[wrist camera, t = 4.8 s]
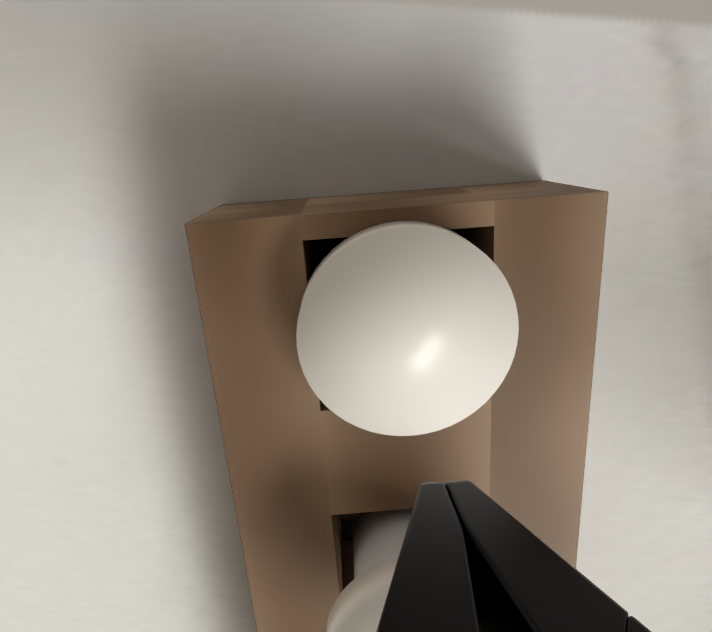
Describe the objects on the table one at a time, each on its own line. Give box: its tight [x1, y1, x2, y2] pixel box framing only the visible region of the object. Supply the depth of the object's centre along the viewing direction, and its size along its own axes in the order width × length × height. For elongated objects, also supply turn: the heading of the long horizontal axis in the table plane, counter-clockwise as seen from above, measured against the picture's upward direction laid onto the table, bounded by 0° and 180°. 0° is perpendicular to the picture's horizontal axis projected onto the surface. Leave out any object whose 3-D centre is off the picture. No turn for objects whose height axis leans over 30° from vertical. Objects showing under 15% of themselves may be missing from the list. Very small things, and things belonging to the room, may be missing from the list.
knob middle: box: [326, 509, 413, 632], centre depth 15 cm, size 5×5×4 cm
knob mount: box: [185, 181, 608, 632], centre depth 17 cm, size 10×22×4 cm, turn 4°
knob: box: [296, 221, 519, 436], centre depth 14 cm, size 5×5×4 cm
